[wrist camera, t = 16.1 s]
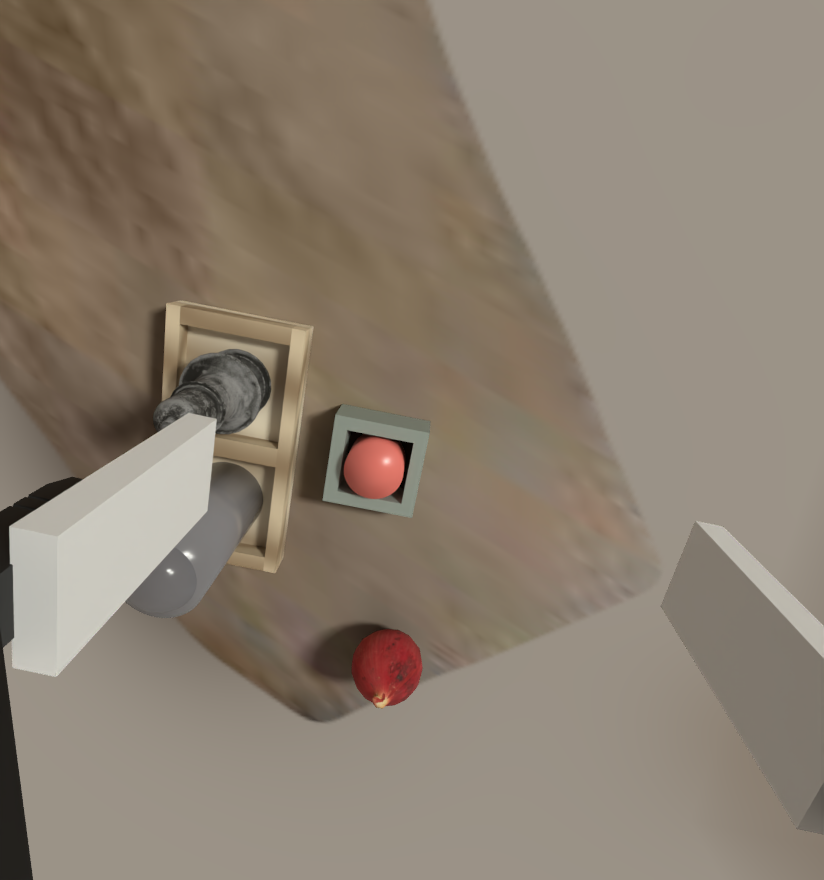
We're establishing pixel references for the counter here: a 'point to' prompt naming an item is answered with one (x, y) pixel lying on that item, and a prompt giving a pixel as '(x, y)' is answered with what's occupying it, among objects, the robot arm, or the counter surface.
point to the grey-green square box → (383, 427)
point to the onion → (387, 667)
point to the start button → (375, 466)
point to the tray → (277, 424)
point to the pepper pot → (202, 545)
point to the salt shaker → (219, 391)
